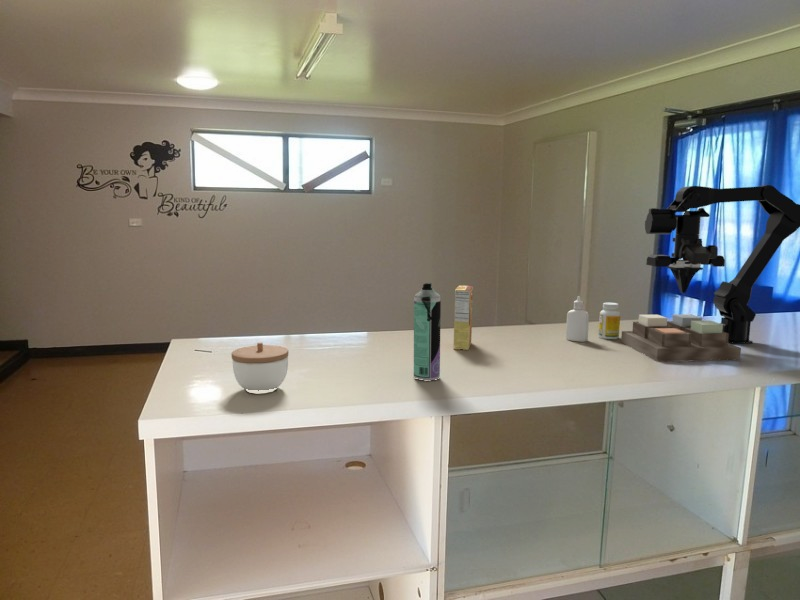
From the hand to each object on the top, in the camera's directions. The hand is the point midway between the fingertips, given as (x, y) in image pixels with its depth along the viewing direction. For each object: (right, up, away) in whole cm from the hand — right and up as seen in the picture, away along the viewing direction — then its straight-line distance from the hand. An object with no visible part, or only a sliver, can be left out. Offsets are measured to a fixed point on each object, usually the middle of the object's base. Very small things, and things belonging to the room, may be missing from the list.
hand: (682, 292), depth 158 cm
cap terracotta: (-11, -12, -15) cm, 22 cm away
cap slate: (-2, -9, -6) cm, 11 cm away
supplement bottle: (-18, -13, +5) cm, 23 cm away
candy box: (-60, -14, -5) cm, 62 cm away
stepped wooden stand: (-6, -15, -10) cm, 19 cm away
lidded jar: (-103, -20, -43) cm, 114 cm away
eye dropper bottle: (-28, -13, +2) cm, 31 cm away
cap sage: (-2, -10, -15) cm, 19 cm away
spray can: (-70, -19, -35) cm, 81 cm away
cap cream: (-11, -9, -7) cm, 16 cm away
